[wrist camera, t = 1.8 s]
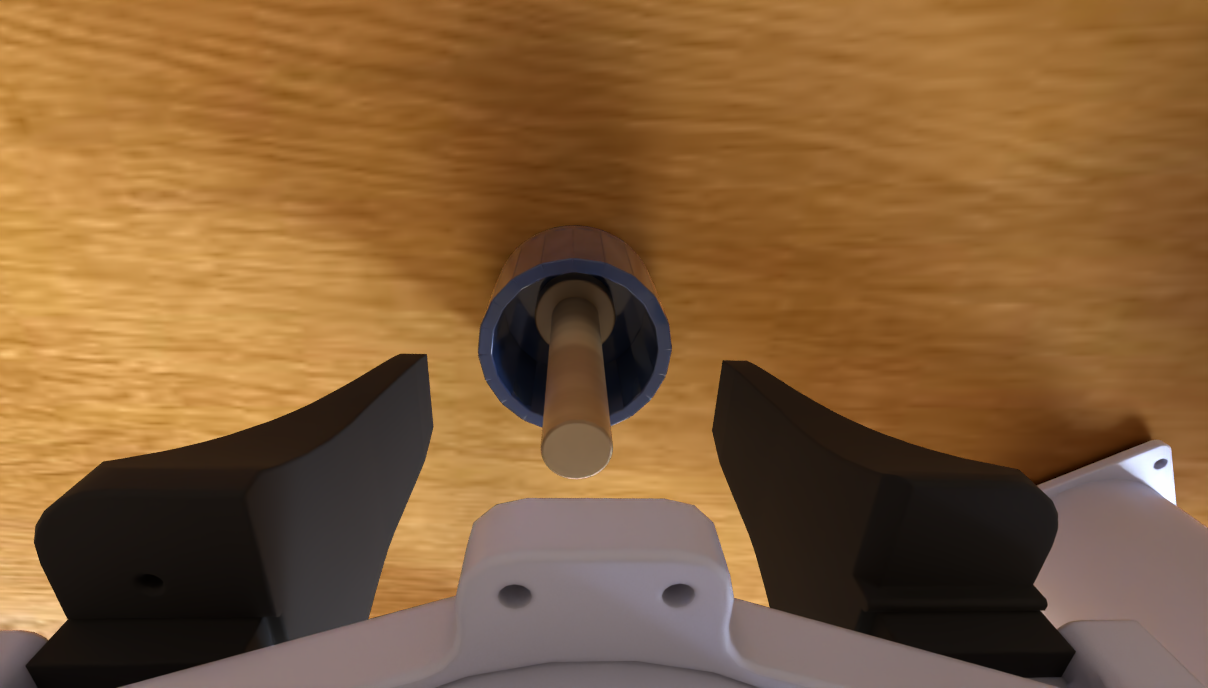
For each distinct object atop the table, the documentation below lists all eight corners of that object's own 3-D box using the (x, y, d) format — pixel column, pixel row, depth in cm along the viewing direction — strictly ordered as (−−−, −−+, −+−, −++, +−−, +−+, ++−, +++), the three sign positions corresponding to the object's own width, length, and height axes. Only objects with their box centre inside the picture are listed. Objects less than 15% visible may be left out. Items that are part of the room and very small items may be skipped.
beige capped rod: (627, 323, 19) (659, 470, 12) (559, 356, 20) (552, 518, 13) (591, 257, 18) (604, 375, 11) (521, 294, 19) (489, 431, 12)
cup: (679, 332, 20) (700, 385, 17) (545, 396, 21) (540, 460, 18) (609, 195, 18) (618, 222, 15) (463, 272, 19) (439, 316, 16)
